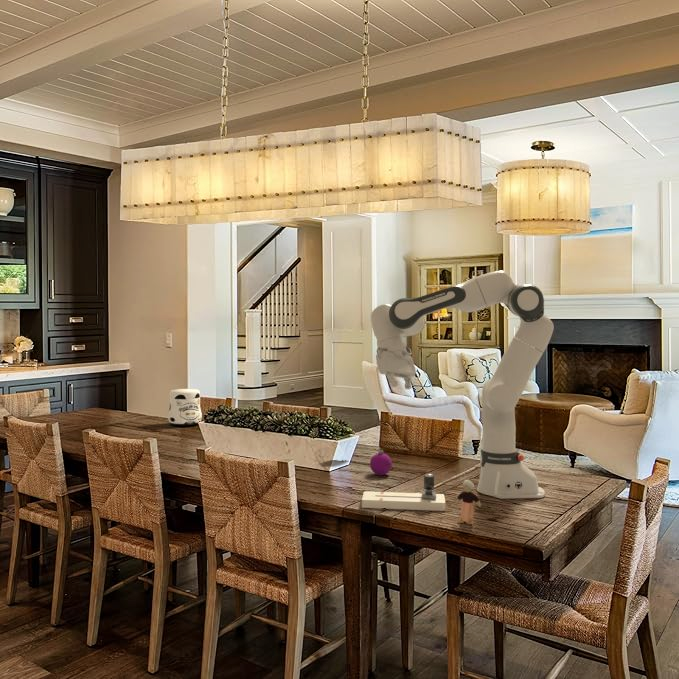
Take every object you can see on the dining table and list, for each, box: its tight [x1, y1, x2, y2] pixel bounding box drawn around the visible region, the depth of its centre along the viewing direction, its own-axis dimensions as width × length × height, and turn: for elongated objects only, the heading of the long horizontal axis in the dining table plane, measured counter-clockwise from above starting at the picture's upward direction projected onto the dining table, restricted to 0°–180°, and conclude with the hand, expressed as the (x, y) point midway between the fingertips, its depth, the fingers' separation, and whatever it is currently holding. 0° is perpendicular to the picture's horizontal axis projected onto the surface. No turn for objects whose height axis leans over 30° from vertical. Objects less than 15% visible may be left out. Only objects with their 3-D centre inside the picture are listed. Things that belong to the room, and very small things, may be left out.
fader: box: [421, 473, 437, 499], centre depth 220 cm, size 4×4×7 cm
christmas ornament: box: [369, 448, 393, 476], centre depth 259 cm, size 8×8×10 cm
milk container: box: [167, 388, 203, 427], centre depth 363 cm, size 17×17×18 cm
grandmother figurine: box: [455, 479, 482, 525], centre depth 203 cm, size 8×4×13 cm, turn 69°
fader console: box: [361, 490, 446, 512], centre depth 221 cm, size 26×10×3 cm, turn 84°
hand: (402, 387), depth 235 cm, fingers open, 8 cm apart
